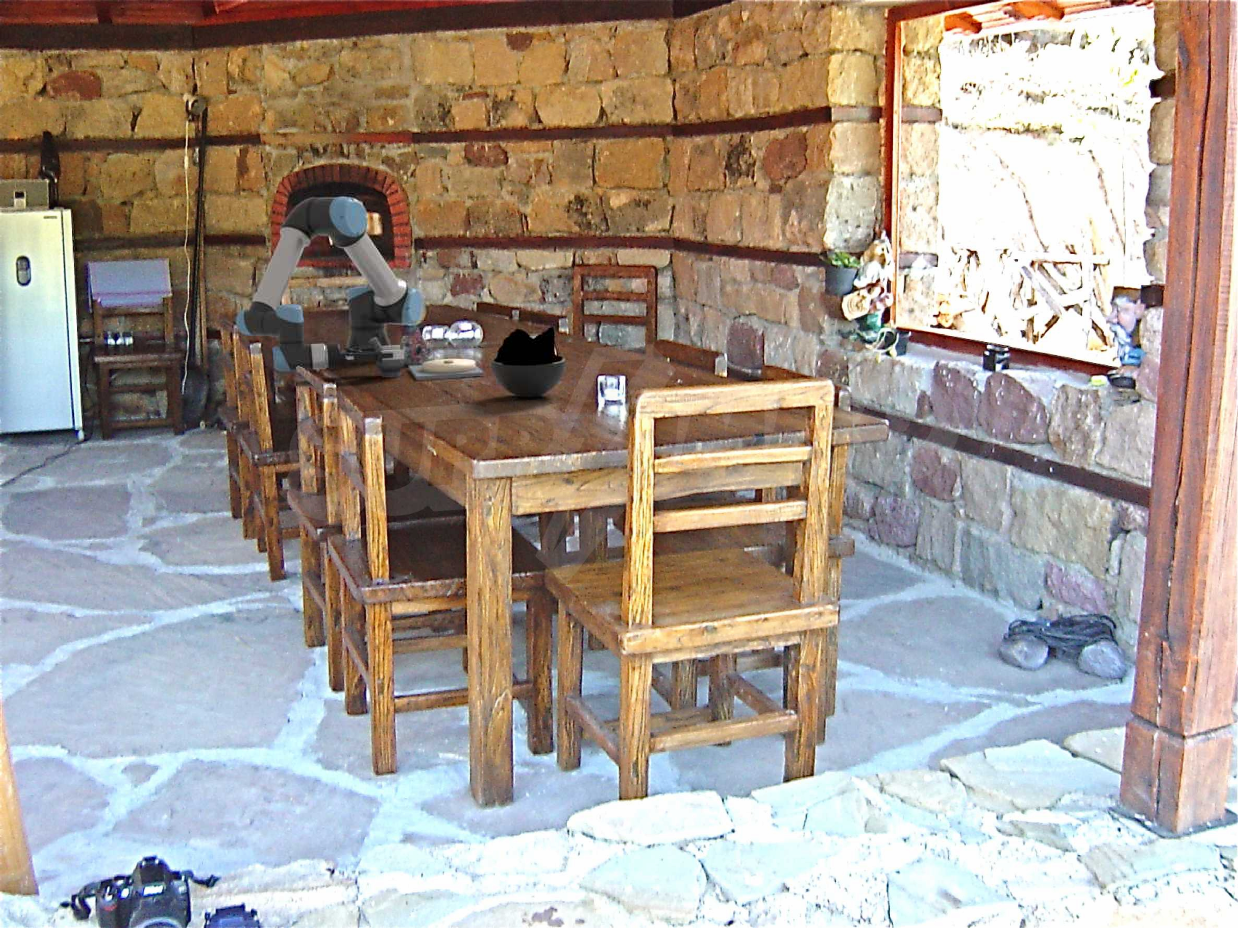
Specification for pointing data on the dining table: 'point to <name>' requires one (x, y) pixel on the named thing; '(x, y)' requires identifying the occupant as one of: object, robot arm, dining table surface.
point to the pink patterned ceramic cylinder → (416, 350)
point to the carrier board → (441, 376)
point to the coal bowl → (528, 363)
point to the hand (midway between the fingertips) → (402, 352)
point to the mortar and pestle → (388, 362)
